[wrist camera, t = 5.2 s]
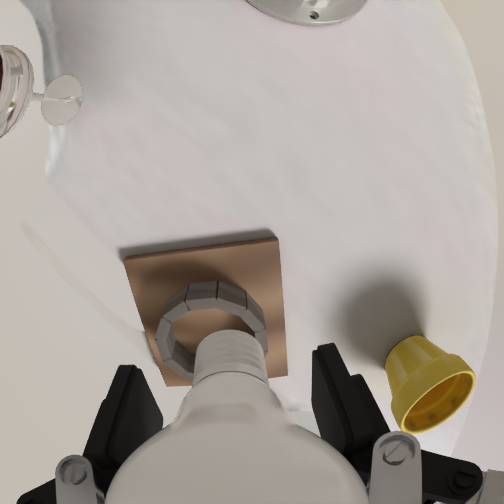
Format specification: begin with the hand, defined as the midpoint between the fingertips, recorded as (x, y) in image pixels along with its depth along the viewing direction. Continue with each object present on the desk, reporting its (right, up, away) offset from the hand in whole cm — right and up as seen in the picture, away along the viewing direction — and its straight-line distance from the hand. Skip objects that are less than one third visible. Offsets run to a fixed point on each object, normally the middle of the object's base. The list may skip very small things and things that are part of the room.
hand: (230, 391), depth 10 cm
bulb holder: (-3, -2, +20) cm, 20 cm away
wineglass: (-17, +19, +11) cm, 27 cm away
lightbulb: (0, +1, +3) cm, 3 cm away
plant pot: (+21, -8, +24) cm, 33 cm away
